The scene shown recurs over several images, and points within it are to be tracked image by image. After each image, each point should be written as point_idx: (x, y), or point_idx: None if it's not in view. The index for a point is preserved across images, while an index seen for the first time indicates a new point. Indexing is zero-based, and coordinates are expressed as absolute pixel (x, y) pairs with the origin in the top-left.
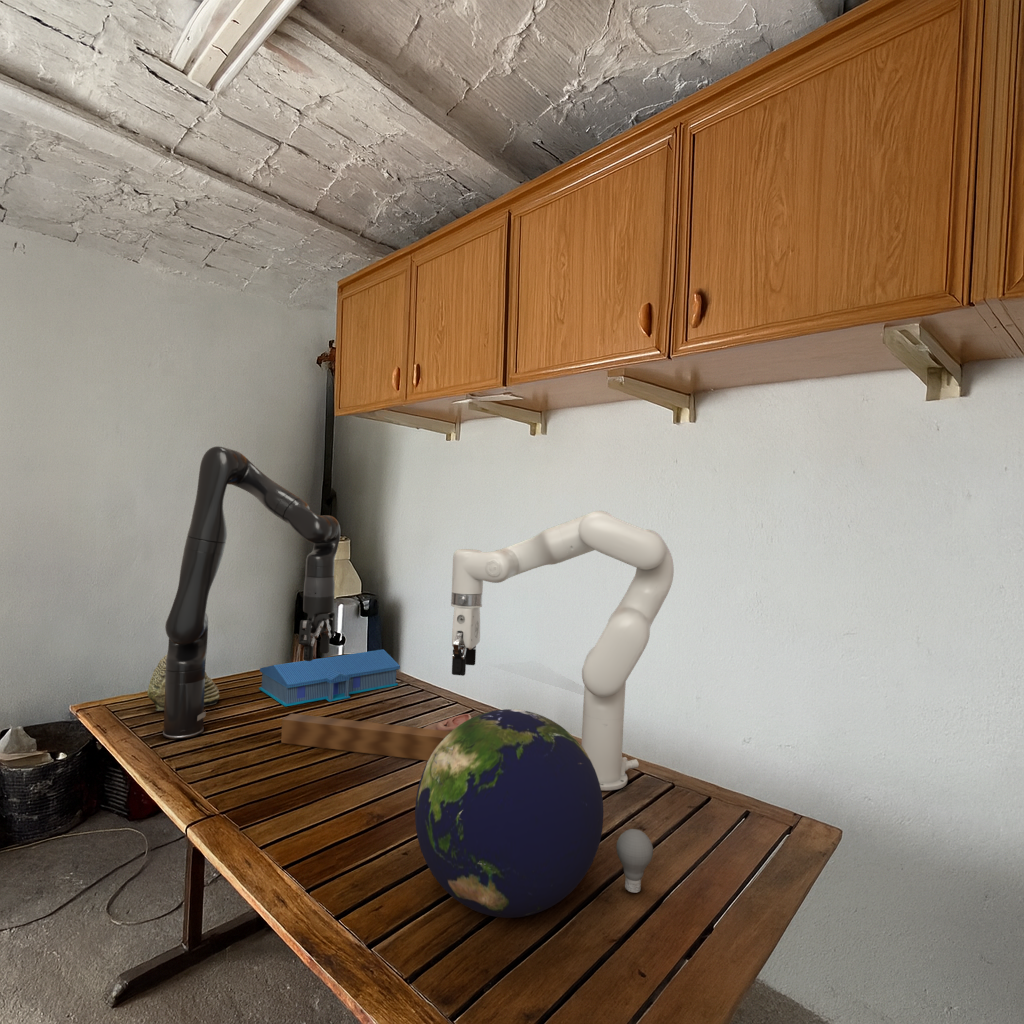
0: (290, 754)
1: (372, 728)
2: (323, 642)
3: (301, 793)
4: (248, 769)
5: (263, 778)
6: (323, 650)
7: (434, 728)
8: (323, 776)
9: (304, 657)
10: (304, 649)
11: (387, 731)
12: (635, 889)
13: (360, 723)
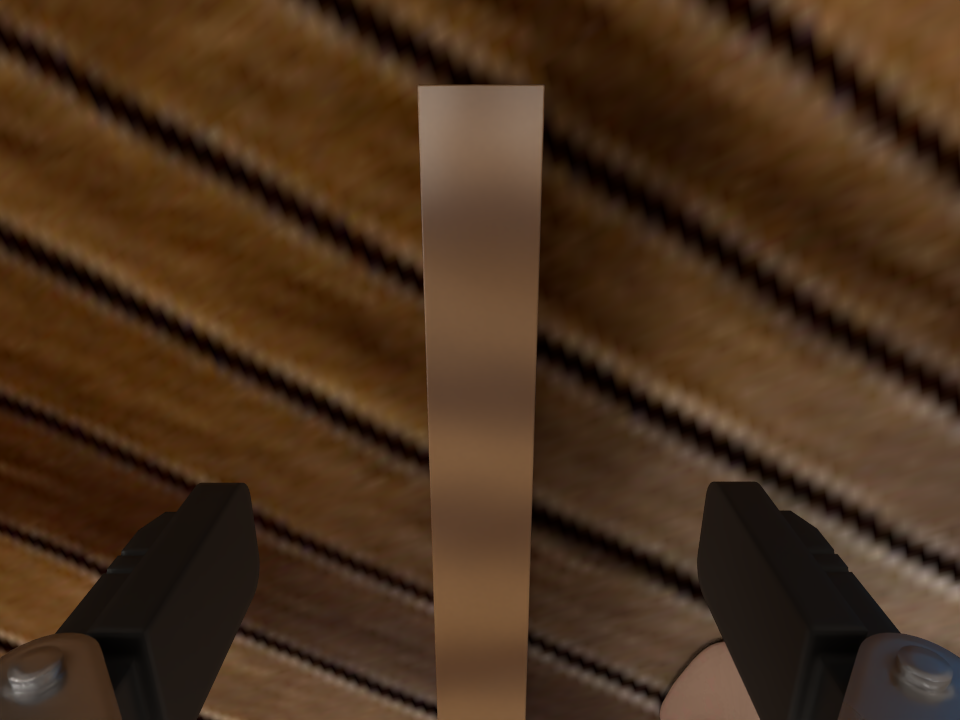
0: (312, 222)
1: (450, 616)
2: (769, 632)
3: (10, 456)
4: (77, 120)
5: (37, 247)
6: (715, 543)
7: (711, 716)
8: (172, 465)
9: (151, 533)
10: (74, 622)
11: (437, 682)
12: None
13: (499, 544)
